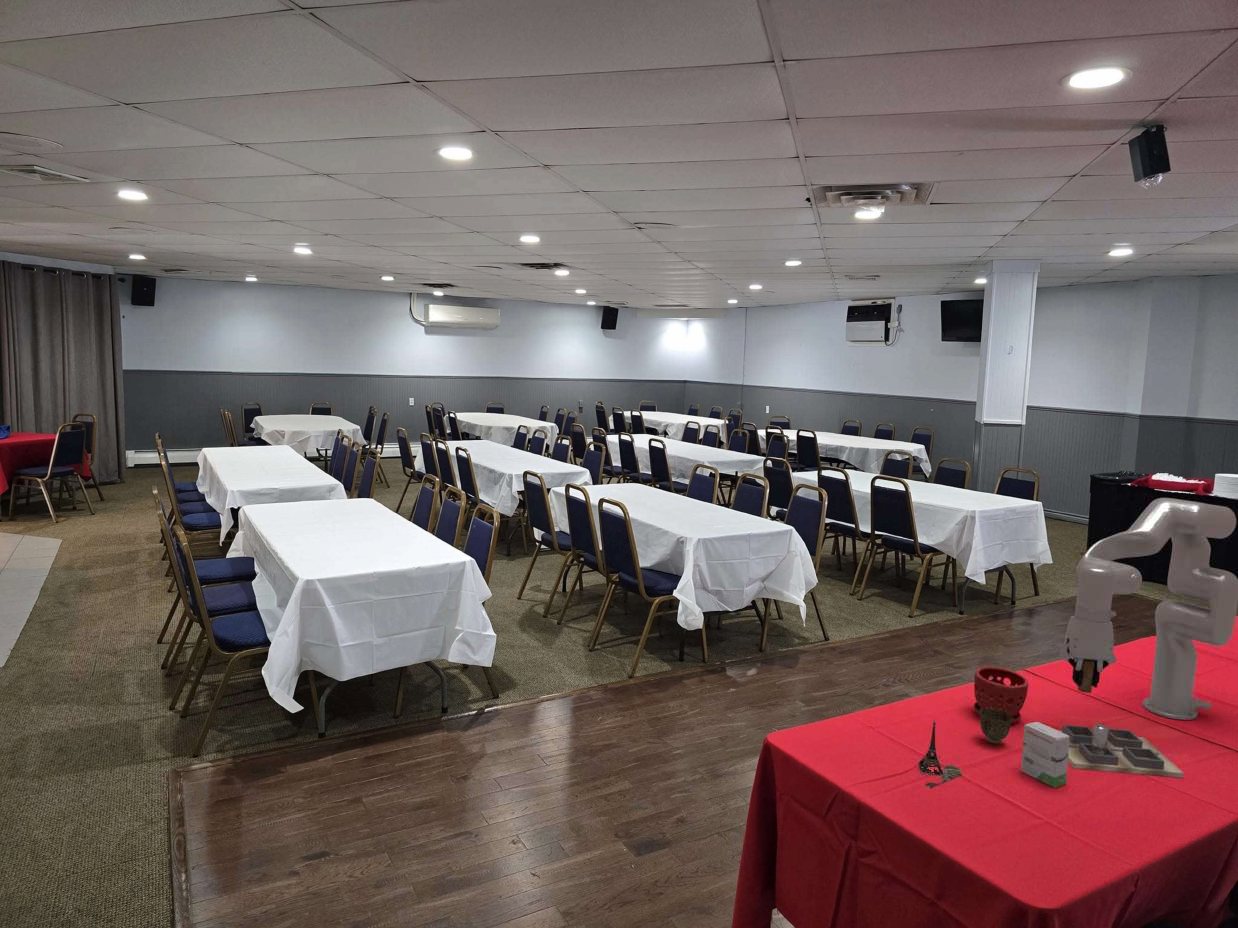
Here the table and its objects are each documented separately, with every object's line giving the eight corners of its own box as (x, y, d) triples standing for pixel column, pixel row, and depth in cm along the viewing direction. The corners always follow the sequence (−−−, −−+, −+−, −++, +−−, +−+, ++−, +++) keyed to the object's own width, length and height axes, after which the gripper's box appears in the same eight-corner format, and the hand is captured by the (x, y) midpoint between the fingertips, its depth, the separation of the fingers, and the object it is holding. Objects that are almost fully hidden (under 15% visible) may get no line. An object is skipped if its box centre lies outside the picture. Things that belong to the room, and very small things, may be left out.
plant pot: (972, 722, 210) (976, 679, 208) (970, 703, 222) (974, 663, 220) (1027, 731, 205) (1031, 688, 204) (1022, 711, 217) (1025, 670, 216)
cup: (1013, 751, 194) (1016, 720, 193) (981, 747, 196) (984, 717, 195) (1005, 737, 202) (1007, 708, 201) (974, 734, 203) (976, 704, 202)
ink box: (1067, 784, 179) (1072, 735, 178) (1053, 788, 177) (1057, 739, 176) (1033, 766, 187) (1037, 719, 186) (1019, 770, 185) (1023, 723, 183)
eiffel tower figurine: (930, 791, 176) (934, 734, 174) (893, 771, 185) (896, 717, 183) (970, 773, 184) (975, 719, 182) (933, 755, 193) (937, 703, 191)
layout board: (1143, 741, 201) (1147, 707, 200) (1183, 777, 183) (1187, 740, 182) (1044, 733, 204) (1047, 699, 203) (1073, 767, 187) (1076, 731, 186)
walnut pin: (1088, 688, 199) (1091, 658, 198) (1093, 693, 196) (1096, 662, 195) (1075, 687, 199) (1078, 657, 198) (1080, 692, 196) (1083, 661, 195)
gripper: (1120, 612, 198) (1112, 681, 200) (1051, 607, 200) (1044, 676, 202) (1135, 621, 190) (1127, 693, 192) (1063, 616, 193) (1056, 687, 195)
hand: (1085, 683), depth 197 cm, fingers closed on walnut pin, 3 cm apart
